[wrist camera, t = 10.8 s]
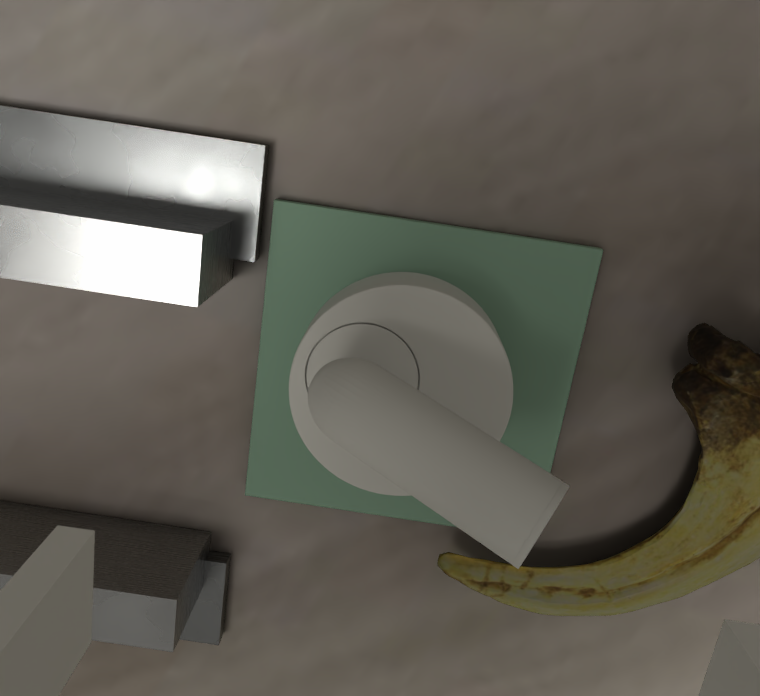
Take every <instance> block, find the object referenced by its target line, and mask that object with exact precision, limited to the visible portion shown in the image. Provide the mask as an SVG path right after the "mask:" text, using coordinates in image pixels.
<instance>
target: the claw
mask: <svg viewBox="0 0 760 696" xmlns="http://www.w3.org/2000/svg"><path fill="white" fill-rule="evenodd" d="M688 350H689V354H690V356H691V357H692V358H694V359H695V360H696V361H697V362H698V364H696V365H693V364H689V365H687V366H686V367H685V368H684V369H682V370H681V371H680V372H678V373H677V374H676V376H675V377H674V379H673V383H672V389H673V391H674V393H675V396H676V398H677V399H678V401H679V402H680V403H681V404H682V406H683V407H684V408H685V410H686V411H687V413H688V415H689V417H690V419H691V421H692V422H693V424H694V427H695V429H696V431H697V434H698V436H699V439H700V443H701V445H702V453H701V455H700V456H699V463H698V471H697V474H696V476H695V479H694V482H693V485H692V487H691V490H690V492H689V494H688V496H687V498H686V500H685V502H684V504H683V506H682V507H681V508H680V510H679V511H678V512H677V514H676V515H675V516H674V517H673V518H672V519H671V521H670V522H669V523H668V524H667V525H665V526H664V527H663V528H662V529H661V530H659V531H658V532H657V533H656V534H654V535H652V536H651V537H649V538H648V539H646V540H644V541H642V542H640V543H638V544H636V545H635V546H633V547H631V548H629V549H627V550H625V551H623V552H621V553H619V554H617V555H614V556H612V557H609V558H607V559H604V560H600V561H596V562H593V563H590V564H584V565H575V566H563V567H528V566H522V565H521V566H520V568H519V569H517V568H516V567H514V566H513V565H512V564H507V563H500V562H494V561H489V560H484V559H476V558H469V557H465V556H462V555H458V554H454V553H450V552H447V553H443V554H439V558H438V566H439V567H440V568H441V569H442V570H443V571H444V573H445V574H447V575H448V576H450V577H452V578H454V579H456V580H458V581H459V582H461V583H462V584H464V585H466V586H467V587H469V588H471V589H473V590H475V591H477V592H479V593H482V594H484V595H487V596H490V597H492V598H493V599H495V600H497V601H499V602H501V603H504V604H507V605H510V606H513V607H517V608H520V609H523V610H527V611H531V612H535V613H538V614H546V615H559V616H606V615H616V614H622V613H627V612H632V611H635V610H638V609H642V608H645V607H648V606H652V605H655V604H659V603H662V602H666V601H670V600H673V599H676V598H679V597H682V596H684V595H686V594H688V593H690V592H693V591H695V590H697V589H699V588H701V587H703V586H706V585H708V584H710V583H712V582H714V581H716V580H718V579H720V578H722V577H724V576H726V575H728V574H730V573H732V572H734V571H736V570H738V569H740V568H742V567H744V566H746V565H748V564H750V563H752V562H753V561H755V560H757V559H759V558H760V354H755V353H754V352H753V351H752V350H751V349H750V348H748V347H747V346H746V345H744V344H743V343H742V342H740V341H734V340H732V339H730V338H728V337H726V336H725V335H723V334H722V333H721V332H720V331H718V330H717V329H715V328H714V327H712V326H709V325H708V324H706V323H702V324H699V325H697V326H696V327H695V328H693V329H692V330H691V331H690V332H689V335H688Z"/></svg>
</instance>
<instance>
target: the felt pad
mask: <svg viewBox="0 0 760 696" xmlns="http://www.w3.org/2000/svg"><path fill="white" fill-rule="evenodd" d="M602 254H603V249H601V248H599V247H592V246H586V245H579V244H572V243H566V242H559V241H553V240H546V239H539V238H533V237H526V236H519V235H513V234H506V233H500V232H493V231H486V230H480V229H473V228H466V227H460V226H453V225H447V224H440V223H433V222H427V221H420V220H414V219H407V218H400V217H394V216H387V215H380V214H374V213H367V212H361V211H354V210H347V209H341V208H334V207H327V206H321V205H314V204H308V203H301V202H294V201H288V200H281V199H275V200H274V206H273V216H272V226H271V236H270V246H269V256H268V266H267V276H266V287H265V297H264V307H263V317H262V327H261V337H260V347H259V358H258V368H257V378H256V388H255V398H254V408H253V418H252V428H251V439H250V449H249V459H248V469H247V479H246V489H245V495H247V496H253V497H260V498H267V499H273V500H280V501H287V502H293V503H300V504H307V505H313V506H320V507H327V508H333V509H340V510H347V511H354V512H360V513H367V514H374V515H380V516H387V517H394V518H400V519H407V520H414V521H420V522H427V523H434V524H440V525H447V526H454V527H456V526H455V525H454V524H452V523H451V522H449V521H448V520H446V519H445V518H443V517H442V516H441V515H439V514H438V513H436V512H435V511H433V510H432V509H430V508H429V507H428V506H426V505H425V504H423V503H422V502H420V501H419V500H417V499H416V498H414V497H413V496H412V495H411V496H393V495H384V494H378V493H374V492H370V491H367V490H363V489H360V488H358V487H356V486H353V485H351V484H349V483H347V482H345V481H343V480H342V479H340V478H338V477H337V476H335V475H334V474H332V473H331V472H330V471H329V470H327V469H326V468H325V467H324V466H323V465H322V464H321V463H320V462H319V461H318V460H317V459H316V458H315V457H314V456H313V455H312V453H311V452H310V451H309V450H308V448H307V447H306V445H305V444H304V442H303V440H302V439H301V437H300V435H299V433H298V431H297V428H296V426H295V423H294V420H293V417H292V413H291V408H290V401H289V377H290V371H291V366H292V362H293V359H294V356H295V353H296V351H297V348H298V346H299V344H300V342H301V340H302V338H303V336H304V335H305V333H306V331H307V329H308V327H309V325H310V323H311V322H312V320H313V318H314V317H315V315H316V314H317V313H318V311H319V310H320V309H321V308H322V307H323V305H324V304H325V303H326V302H327V301H328V300H329V299H330V298H332V297H333V296H334V295H335V294H336V293H338V292H339V291H341V290H342V289H344V288H345V287H347V286H349V285H350V284H352V283H354V282H357V281H359V280H361V279H364V278H367V277H370V276H373V275H378V274H382V273H389V272H413V273H420V274H425V275H429V276H433V277H436V278H439V279H441V280H444V281H446V282H448V283H450V284H452V285H454V286H456V287H457V288H459V289H460V290H462V291H463V292H465V293H466V294H467V295H469V296H470V297H471V298H472V299H473V300H474V301H476V303H477V304H478V305H479V306H480V307H481V308H482V309H483V310H484V312H485V313H486V314H487V316H488V317H489V319H490V320H491V322H492V323H493V325H494V327H495V329H496V331H497V333H498V336H499V338H500V340H501V342H502V345H503V347H504V349H505V352H506V354H507V357H508V360H509V363H510V367H511V372H512V378H513V404H512V410H511V414H510V418H509V421H508V424H507V427H506V430H505V432H504V434H503V436H502V438H501V440H500V442H501V443H503V444H504V445H506V446H508V447H509V448H511V449H512V450H514V451H515V452H517V453H519V454H520V455H522V456H523V457H525V458H527V459H528V460H530V461H531V462H533V463H534V464H536V465H538V466H539V467H541V468H542V469H544V470H546V471H547V472H549V473H550V472H551V467H552V463H553V459H554V455H555V451H556V446H557V442H558V438H559V434H560V430H561V426H562V421H563V417H564V413H565V409H566V405H567V400H568V396H569V392H570V388H571V384H572V379H573V375H574V371H575V367H576V363H577V358H578V354H579V350H580V346H581V342H582V337H583V333H584V329H585V325H586V321H587V317H588V312H589V308H590V304H591V300H592V296H593V291H594V287H595V283H596V279H597V275H598V270H599V266H600V262H601V258H602Z"/></svg>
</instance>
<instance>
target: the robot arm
mask: <svg viewBox="0 0 760 696" xmlns="http://www.w3.org/2000/svg"><path fill="white" fill-rule="evenodd" d="M94 543H95V531H94V530H87V529H80V528H73V527H66V526H59V525H57V527H56V528H55V529H54V530H53V531H52V532H51V533H50V535H49V536H48V537H47V538H46V539H45V540H44V541H43V543H42V544H41V545H40V546H39V547H38V548H37V549H36V550H35V552H34V553H33V554H32V555H31V556H30V557H29V558H28V560H27V561H26V562H25V563H24V564H23V565H22V566H21V568H20V569H19V570H18V571H17V572H16V573H15V574H14V576H13V577H12V578H11V579H10V580H9V581H8V582H7V583H6V585H5V586H4V587H3V588H2V589H1V590H0V696H59V694H60V693H61V691H62V690H63V688H64V686H65V685H66V683H67V681H68V680H69V678H70V676H71V675H72V673H73V671H74V670H75V668H76V667H77V665H78V663H79V662H80V660H81V658H82V657H83V655H84V653H85V652H86V650H87V648H88V647H89V645H90V644H91V640H92V607H93V575H94ZM699 696H760V624H753V623H746V622H739V621H732V620H724V622H723V625H722V628H721V631H720V634H719V637H718V640H717V643H716V646H715V649H714V652H713V655H712V657H711V660H710V663H709V666H708V669H707V672H706V675H705V678H704V681H703V684H702V687H701V690H700V693H699Z"/></svg>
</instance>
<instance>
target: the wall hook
mask: <svg viewBox="0 0 760 696" xmlns="http://www.w3.org/2000/svg"><path fill="white" fill-rule="evenodd" d="M289 401H290V408H291V413H292V417H293V420H294V423H295V426H296V428H297V431H298V433H299V435H300V437H301V439H302V440H303V442H304V444H305V445H306V447H307V448H308V450H309V451H310V452H311V453H312V455H313V456H314V457H315V458H316V459H317V460H318V461H319V462H320V463H321V464H322V465H323V466H324V467H325V468H326V469H327V470H329V471H330V472H331V473H332V474H334V475H335V476H337V477H338V478H340V479H342V480H343V481H345V482H347V483H349V484H351V485H353V486H356V487H358V488H360V489H363V490H367V491H370V492H374V493H378V494H384V495H393V496H411V495H412V496H413V497H414V498H416V499H417V500H419V501H420V502H422V503H423V504H425V505H426V506H428V507H429V508H430V509H432V510H433V511H435V512H436V513H438V514H439V515H441V516H442V517H443V518H445V519H446V520H448V521H449V522H451V523H452V524H454V525H455V526H456V527H458V528H459V529H461V530H462V531H464V532H465V533H467V534H468V535H470V536H471V537H472V538H474V539H475V540H477V541H478V542H480V543H481V544H483V545H484V546H485V547H487V548H488V549H490V550H491V551H493V552H494V553H496V554H497V555H498V556H500V557H501V558H503V559H504V560H506V561H507V562H509V563H510V564H512V565H513V566H514V567H516V568H517V569H519V568H520V566H521V565H522V563H523V561H524V560H525V558H526V557H527V555H528V554H529V552H530V550H531V549H532V547H533V546H534V544H535V542H536V541H537V539H538V538H539V536H540V534H541V533H542V531H543V530H544V528H545V526H546V525H547V523H548V522H549V520H550V518H551V517H552V515H553V513H554V512H555V510H556V509H557V507H558V505H559V504H560V502H561V500H562V499H563V497H564V496H565V494H566V492H567V491H568V489H569V487H570V486H569V485H568V484H566V483H565V482H562V481H561V480H560V479H558V478H557V477H555V476H553V475H552V474H550V473H549V472H547V471H546V470H544V469H542V468H541V467H539V466H538V465H536V464H534V463H533V462H531V461H530V460H528V459H527V458H525V457H523V456H522V455H520V454H519V453H517V452H515V451H514V450H512V449H511V448H509V447H508V446H506V445H504V444H503V443H501V442H500V440H501V438H502V436H503V434H504V432H505V430H506V427H507V424H508V421H509V418H510V414H511V410H512V404H513V378H512V372H511V367H510V363H509V360H508V357H507V354H506V352H505V349H504V347H503V345H502V342H501V340H500V338H499V336H498V333H497V331H496V329H495V327H494V325H493V323H492V322H491V320H490V319H489V317H488V316H487V314H486V313H485V312H484V310H483V309H482V308H481V307H480V306H479V305H478V304H477V303H476V301H474V300H473V299H472V298H471V297H470V296H469V295H467V294H466V293H465V292H463V291H462V290H460V289H459V288H457V287H456V286H454V285H452V284H450V283H448V282H446V281H444V280H441V279H439V278H436V277H433V276H429V275H425V274H420V273H413V272H389V273H382V274H378V275H373V276H370V277H367V278H364V279H361V280H359V281H357V282H354V283H352V284H350V285H349V286H347V287H345V288H344V289H342V290H341V291H339V292H338V293H336V294H335V295H334V296H333V297H332V298H330V299H329V300H328V301H327V302H326V303H325V304H324V305H323V307H322V308H321V309H320V310H319V311H318V313H317V314H316V315H315V317H314V318H313V320H312V322H311V323H310V325H309V327H308V329H307V331H306V333H305V335H304V336H303V338H302V340H301V342H300V344H299V346H298V348H297V351H296V353H295V356H294V359H293V362H292V366H291V371H290V377H289Z"/></svg>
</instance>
